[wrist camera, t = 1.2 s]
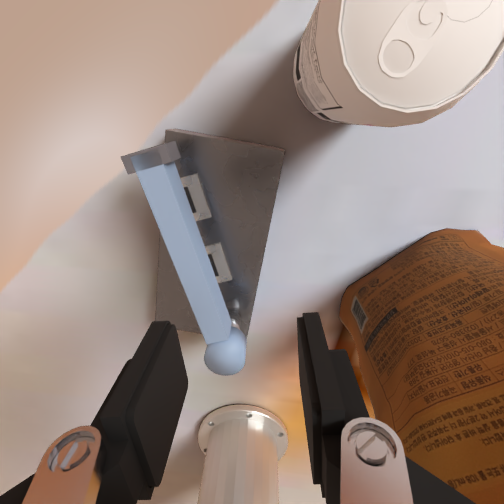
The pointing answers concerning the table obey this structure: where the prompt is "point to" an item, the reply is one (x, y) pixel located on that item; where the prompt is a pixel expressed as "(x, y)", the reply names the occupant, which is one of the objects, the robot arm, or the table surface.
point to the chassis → (222, 221)
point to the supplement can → (395, 58)
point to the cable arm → (188, 254)
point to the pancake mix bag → (438, 356)
